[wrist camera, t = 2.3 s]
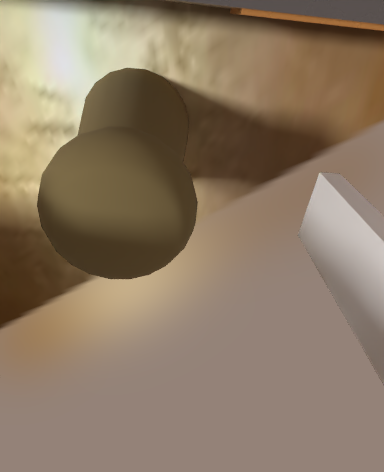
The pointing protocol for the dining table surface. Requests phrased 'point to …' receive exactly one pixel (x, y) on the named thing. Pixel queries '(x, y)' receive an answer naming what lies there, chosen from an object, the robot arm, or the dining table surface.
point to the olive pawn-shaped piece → (122, 180)
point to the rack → (307, 10)
